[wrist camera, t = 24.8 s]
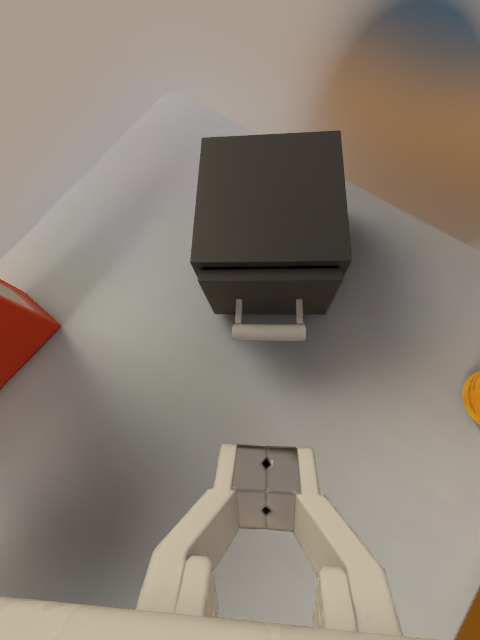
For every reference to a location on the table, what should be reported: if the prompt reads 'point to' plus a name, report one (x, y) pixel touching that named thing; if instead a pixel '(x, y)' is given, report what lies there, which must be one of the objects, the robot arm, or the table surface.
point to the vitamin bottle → (472, 396)
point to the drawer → (270, 297)
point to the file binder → (20, 329)
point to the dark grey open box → (271, 202)
